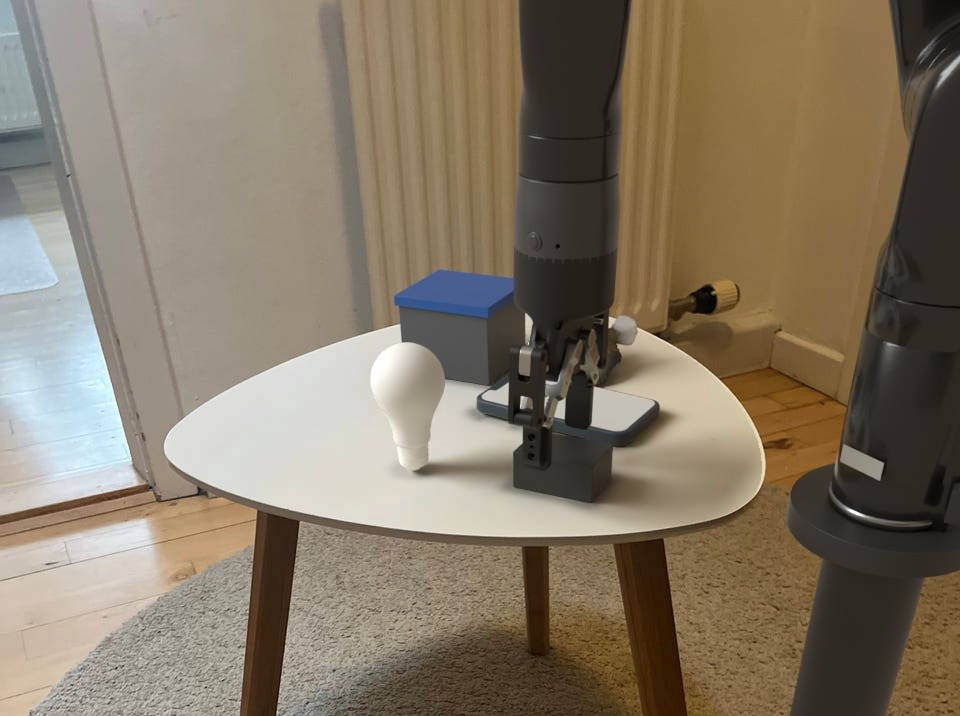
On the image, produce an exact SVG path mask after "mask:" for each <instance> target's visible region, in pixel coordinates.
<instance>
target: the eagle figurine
mask: <svg viewBox="0 0 960 716" xmlns="http://www.w3.org/2000/svg"><path fill="white" fill-rule="evenodd" d="M638 331H639V330H638V324H637V322H636V320H635V319H633V318H632V317H630V316H628V315H623V314H620V315H618V316H617V317H616V319H615V321H614V322H613V323H612V325H611V327H609V329H608V351H607V365H606V367H605V369H604V370H602V369H598V371H599V379H598V381H597V383H596V384H592V386H595V387H596V386H598V385H600V384H602V383H603V382H605V381H606V380H607V379H608V378H609V376H610V374H611V373H612V372H613V369H615V367H616V366H617V365H619V364H620V363H621V360H622V357H623V356H622V352H620V349H619V345H622V346H625V347H626V346H627V347H628V346H632V345H633V344H634V343H635V341H636V337H637V335H638ZM595 343H596V342H595ZM596 346H597V343H596ZM570 381H572V380H570Z"/></svg>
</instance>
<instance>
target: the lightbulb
mask: <svg viewBox="0 0 960 716" xmlns="http://www.w3.org/2000/svg"><path fill="white" fill-rule="evenodd" d="M369 383H370V384H369V385H370V390H371V393H372V396H373V397H374V399H375V401H376V404H378V407H379V408H380V409H381V411H382V412H383V414H384V415H385V416H386V418H387V420H388V422H389V425H390V429H391V432H392V438H393V441H394V443H395V444H396V447H397V448H396V450H397V455H398V462H399V464H400V465H401V466H402V467H404V468H406V469H408V470H410V471H412V472H413V471H418V470H420V469H421V468H423V467H424V466H426V465H427V464H428V462H429V442H430V440H431V428H432V421H433V418H434V415H435V412H436V410H437V409H438V406H439V404H440V402H441V399H442V397H443V395H444V392H445V387H446V378H445V375H444V371H443V368H442V365H441V363H440V361H439V360H438V359H437V357H436V356H435V355H434V354H433V353H432V352H431V351H430V350H429V349H427V348H425V347H424V346H421V345H419V344H415V343H410V342H405V343H402V342H399V343H396V344H395V343H394V344H392V345H391V346H388V347H387V348H386V349H384V350H383V351H382V352H381V353H380V354H379V355H378V357H377V358H376V359H375V361H374V363H373V365H372V367H371V371H370V380H369Z"/></svg>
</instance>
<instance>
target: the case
mask: <svg viewBox="0 0 960 716" xmlns="http://www.w3.org/2000/svg"><path fill="white" fill-rule="evenodd" d="M522 447H523V442H522V443H520V445H519V446H518V447H517V448H515V449H514V450H513V452H512V478H513V479H512V485H513V488H517V489H522V490H526V491H532V492H537V493H541V494H547V495H551V496H557V497H560V498H566V499H571V500H575V501H581V502H586V503H590V504H592V502H593V501H594V500H595V499H596V498H597V497H598V495H600V493H601V492H602V491H603V489H604V488H605V487H606V486H607V485H608V483H609V482H610V481H611V480H612V475H613V474H612V471H613V456H614V455H613V454H614V453H613V452H614V446H613V444H609V443H603V442H598V441H592V440H588V439H584V438H580V437H576V436H571V435H566V434H564V435H563V434H559V433H554V432H552V460H551V466H550V467H549V468H548V469H547V470H546V471H539V470H534V469H529V468H526V467H525V466H524V465H523V463H522Z"/></svg>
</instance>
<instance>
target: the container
mask: <svg viewBox="0 0 960 716" xmlns="http://www.w3.org/2000/svg"><path fill="white" fill-rule="evenodd" d="M393 302H394V306H396V307H398V313H399V326H400V327H399V328H400V338H401V339H400V340H401V343H405V342H410V343H415V344H419V345H421V346H424V347H425V348H427V349H429V350H430V351H431V352H432V353H433V354H434V355H435V356H436V357H437V359H438V360H439V361H440V363H441V365H442V368H443V371H444V375H445V380H453V381H460V382H463V383H464V382H465V383H471V384H477V385H482V386H488V387H489V386H490V385H492V384H493V383H495V381H496V380H498V379H499V378H500V377H501V376H503V375H504V374H505V373H507V371H509V361H510V350H511V347H512V345H513V344H518V345H524V346H526V313H525V312H522V311H521V310H520V309H518V308H517V306H516V305H515V303H514V277H509V276H498V275H490V274H483V273H482V274H481V273H472V272H465V271H458V270H457V271H455V270H449V269H437V270H435V271H434V272H432V273H430V274H428V275H427V276H425V277H424V278H422V279H420V280H418V281H417V282H415V283H413V284H412V285H409V286H408V287H406V288H405V289H403V290H401V291H399V292H397V293H396V294H394V295H393Z"/></svg>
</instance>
